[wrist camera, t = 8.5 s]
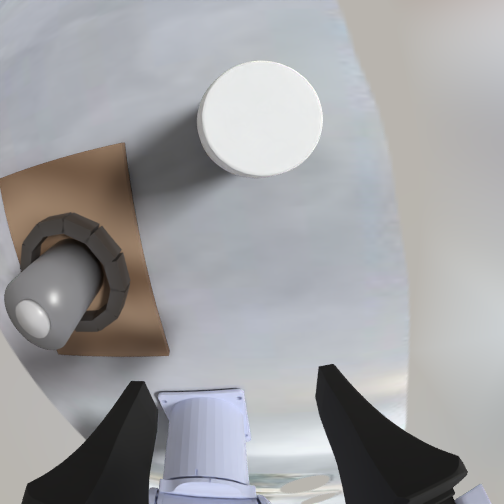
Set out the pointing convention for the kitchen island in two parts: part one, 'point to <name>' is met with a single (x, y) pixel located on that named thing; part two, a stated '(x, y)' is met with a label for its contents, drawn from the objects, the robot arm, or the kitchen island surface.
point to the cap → (54, 293)
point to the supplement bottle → (259, 119)
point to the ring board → (90, 245)
